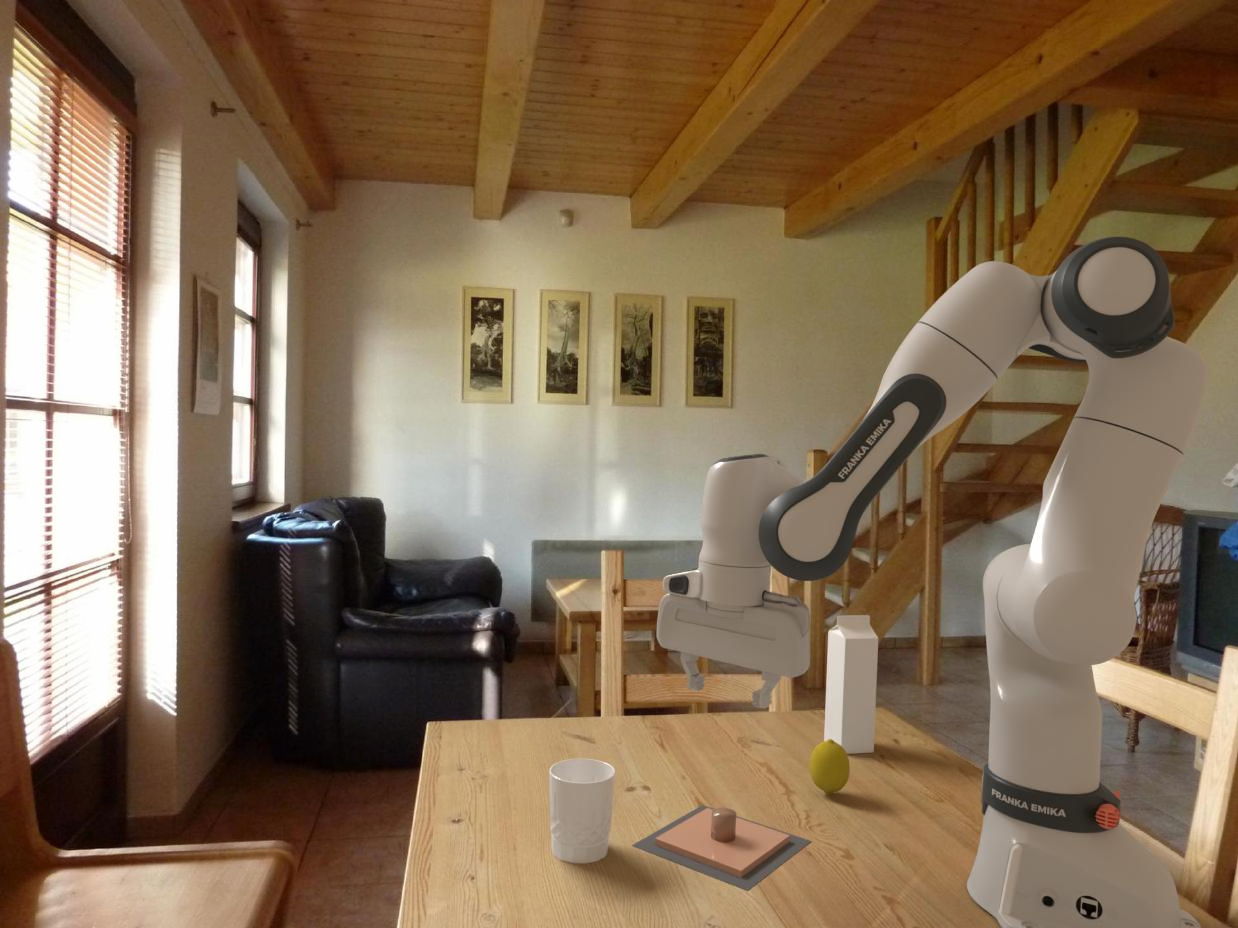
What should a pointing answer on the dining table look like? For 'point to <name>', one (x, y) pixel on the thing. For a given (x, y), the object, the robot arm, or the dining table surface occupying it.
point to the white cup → (581, 809)
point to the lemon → (829, 766)
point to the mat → (743, 882)
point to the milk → (851, 684)
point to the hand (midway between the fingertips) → (727, 697)
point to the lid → (723, 841)
